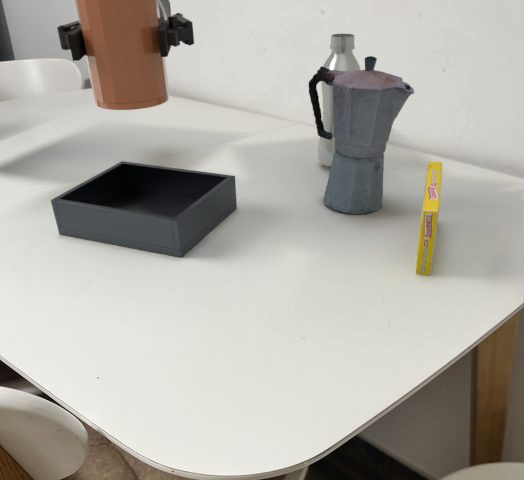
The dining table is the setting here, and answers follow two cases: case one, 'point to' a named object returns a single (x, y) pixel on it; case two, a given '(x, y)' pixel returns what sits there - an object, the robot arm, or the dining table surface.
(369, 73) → the moka pot
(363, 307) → the dining table surface
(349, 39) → the silver bottle
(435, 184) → the candy box
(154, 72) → the pot
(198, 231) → the tray
